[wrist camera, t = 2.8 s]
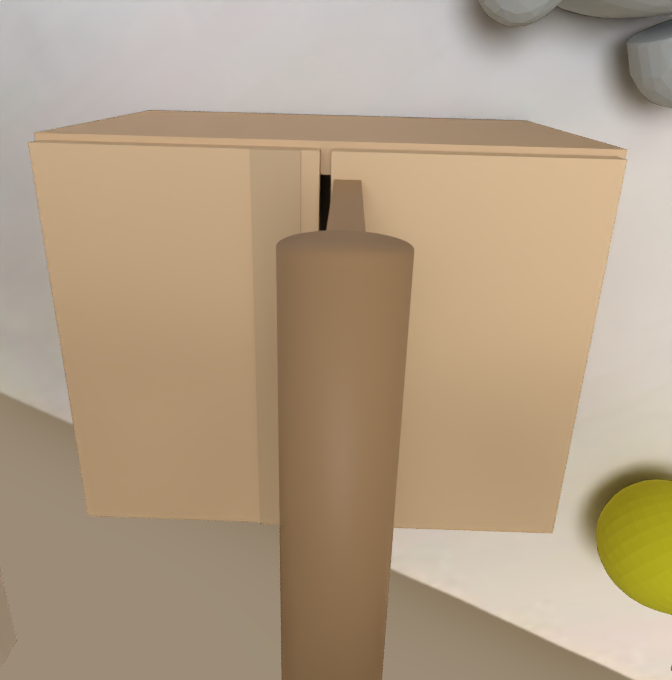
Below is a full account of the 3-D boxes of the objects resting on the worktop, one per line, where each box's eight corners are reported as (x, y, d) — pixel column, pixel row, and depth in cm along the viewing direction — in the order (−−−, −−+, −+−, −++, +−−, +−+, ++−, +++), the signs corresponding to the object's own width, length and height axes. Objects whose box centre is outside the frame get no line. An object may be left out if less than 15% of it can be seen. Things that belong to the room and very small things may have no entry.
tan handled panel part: (616, 156, 19) (924, 256, 9) (546, 519, 24) (687, 843, 14) (312, 147, 19) (267, 236, 9) (308, 511, 25) (278, 827, 14)
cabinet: (172, 372, 36) (83, 522, 24) (150, 109, 30) (20, 135, 18) (490, 382, 36) (559, 538, 24) (526, 120, 30) (639, 153, 18)
